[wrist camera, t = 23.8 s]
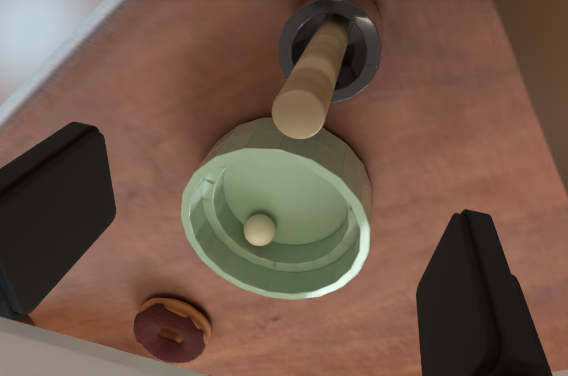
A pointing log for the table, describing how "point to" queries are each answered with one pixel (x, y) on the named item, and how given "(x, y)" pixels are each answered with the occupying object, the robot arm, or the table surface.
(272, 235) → the ball
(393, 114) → the table surface
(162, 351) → the donut
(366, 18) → the holder
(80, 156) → the robot arm
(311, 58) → the stick
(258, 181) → the bowl
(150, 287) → the table surface
